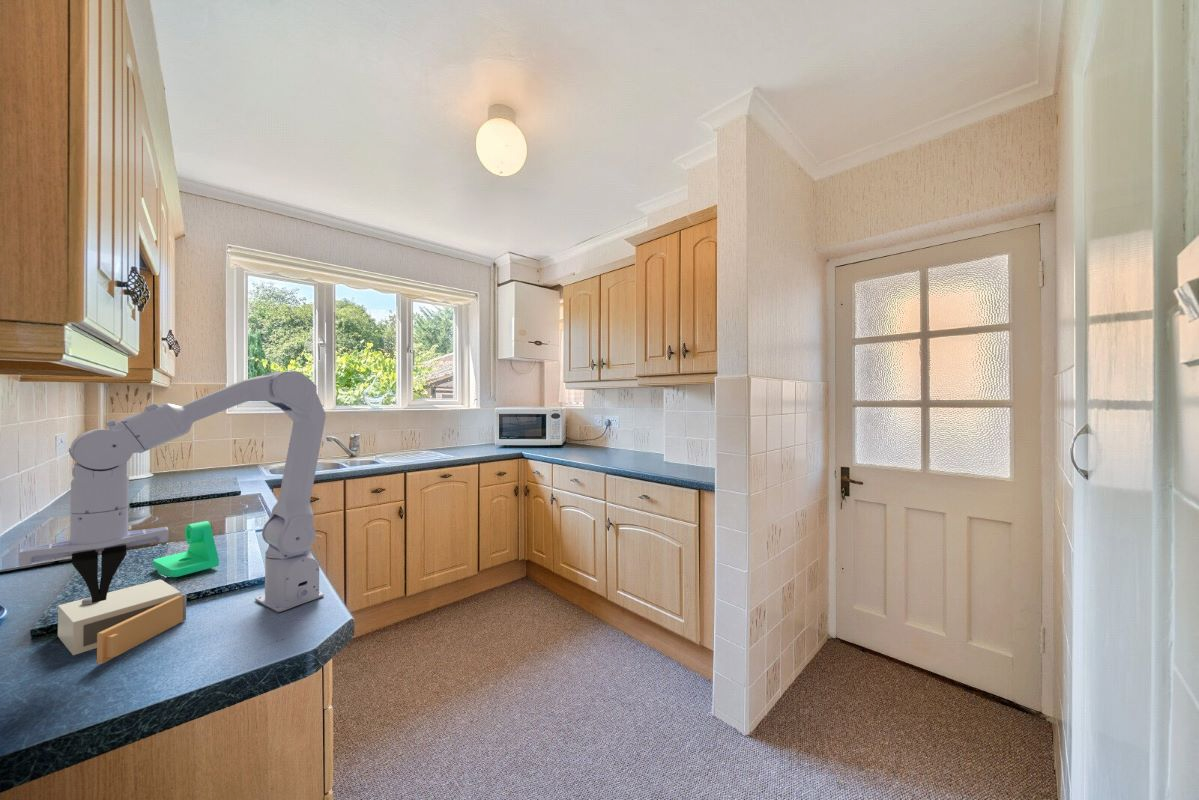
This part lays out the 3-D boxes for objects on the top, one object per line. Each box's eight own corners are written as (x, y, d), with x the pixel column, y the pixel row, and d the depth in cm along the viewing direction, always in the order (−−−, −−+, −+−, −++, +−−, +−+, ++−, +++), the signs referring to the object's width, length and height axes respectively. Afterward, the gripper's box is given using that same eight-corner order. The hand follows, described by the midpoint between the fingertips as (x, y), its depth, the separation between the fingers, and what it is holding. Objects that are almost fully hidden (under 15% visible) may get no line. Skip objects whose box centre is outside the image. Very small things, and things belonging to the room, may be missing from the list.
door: (182, 618, 75) (182, 593, 75) (192, 618, 75) (193, 593, 75) (96, 663, 63) (96, 633, 63) (109, 663, 63) (109, 633, 63)
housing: (180, 620, 75) (181, 588, 75) (73, 655, 65) (73, 618, 65) (158, 604, 81) (158, 574, 81) (56, 634, 71) (56, 599, 71)
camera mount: (151, 571, 96) (151, 525, 96) (195, 560, 103) (196, 517, 103) (173, 583, 91) (173, 534, 91) (218, 570, 97) (219, 525, 97)
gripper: (165, 497, 73) (164, 577, 73) (22, 513, 62) (21, 607, 62) (170, 504, 69) (169, 589, 69) (17, 523, 58) (16, 625, 58)
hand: (99, 599), depth 65 cm, fingers closed
